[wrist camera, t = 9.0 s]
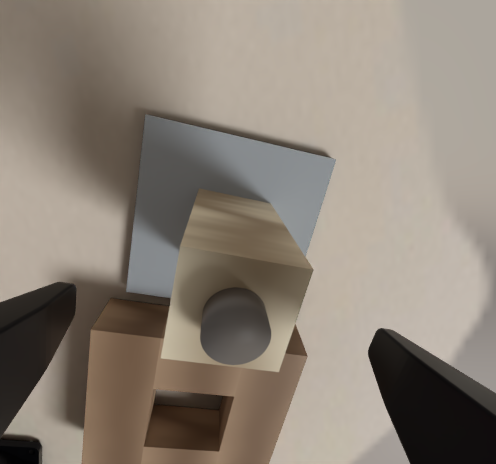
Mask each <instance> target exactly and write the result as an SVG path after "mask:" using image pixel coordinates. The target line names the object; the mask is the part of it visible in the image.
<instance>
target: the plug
mask: <svg viewBox="0 0 496 464" xmlns="http://www.w3.org/2000/svg"><path fill="white" fill-rule="evenodd" d="M312 272H313V268H312V267H311V265H310V263H309V262H308V260H307V259H306V257H305V256H304V254H303V253H302V251H301V250H300V248H299V246H298V245H297V243H296V242H295V240H294V239H293V237H292V236H291V234H290V232H289V231H288V229H287V228H286V226H285V225H284V223H283V222H282V220H281V218H280V217H279V215H278V214H277V212H276V211H275V209H274V208H273V206H272V204H271V203H266V202H261V201H257V200H252V199H247V198H242V197H238V196H233V195H228V194H223V193H219V192H214V191H209V190H205V189H200V188H199V190H198V193H197V196H196V199H195V202H194V205H193V208H192V211H191V214H190V218H189V221H188V224H187V227H186V230H185V233H184V236H183V239H182V242H181V245H180V250H179V255H178V261H177V267H176V273H175V278H174V284H173V290H172V296H171V301H170V307H169V313H168V319H167V325H166V330H165V336H164V342H163V348H162V353H161V358H162V359H171V360H179V361H188V362H196V363H205V364H213V365H222V366H230V367H239V368H247V369H256V370H265V371H273V372H279V370H280V367H281V364H282V361H283V358H284V355H285V352H286V349H287V346H288V343H289V340H290V338H291V335H292V332H293V329H294V326H295V323H296V320H297V317H298V314H299V311H300V308H301V305H302V302H303V299H304V296H305V293H306V290H307V287H308V284H309V281H310V278H311V275H312Z"/></svg>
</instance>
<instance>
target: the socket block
mask: <svg viewBox="0 0 496 464" xmlns="http://www.w3.org/2000/svg"><path fill="white" fill-rule="evenodd" d="M169 307H170V306H164V305H156V304H149V303H142V302H135V301H128V300H121V299H113V298H110V300H109V302H108V303H107V305H106V306H105V308H104V310H103V311H102V313H101V314H100V316H99V317H98V319H97V321H96V322H95V324H94V325H93V327H92V329H91V333H90V348H89V363H88V378H87V392H86V407H85V422H84V436H83V451H82V464H269V462H270V459H271V456H272V453H273V451H274V448H275V445H276V442H277V440H278V437H279V434H280V431H281V428H282V426H283V423H284V420H285V417H286V415H287V412H288V409H289V406H290V404H291V401H292V398H293V395H294V392H295V390H296V387H297V384H298V381H299V379H300V376H301V373H302V370H303V367H304V365H305V362H306V359H307V353H306V351H305V348H304V346H303V343H302V340H301V338H300V335H299V332H298V330H297V327H296V324H295V326H294V329H293V332H292V335H291V338H290V340H289V343H288V346H287V349H286V352H285V355H284V358H283V361H282V364H281V367H280V370H279V372H273V371H265V370H256V369H247V368H239V367H230V366H222V365H213V364H205V363H196V362H188V361H179V360H171V359H162V358H161V353H162V348H163V342H164V336H165V330H166V325H167V319H168V313H169ZM156 389H159V390H170V391H180V392H191V393H201V394H212V395H222V396H223V398H222V402H221V405H220V409H219V410H211V409H200V408H188V407H177V406H165V405H154V400H155V394H156Z"/></svg>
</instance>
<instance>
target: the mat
mask: <svg viewBox="0 0 496 464" xmlns="http://www.w3.org/2000/svg"><path fill="white" fill-rule="evenodd" d="M335 162H336V159H333V158H329V157H325V156H320V155H316V154H312V153H308V152H304V151H299V150H295V149H291V148H287V147H282V146H278V145H274V144H270V143H266V142H261V141H257V140H253V139H249V138H245V137H240V136H236V135H232V134H228V133H223V132H219V131H215V130H211V129H207V128H202V127H198V126H194V125H190V124H185V123H181V122H177V121H173V120H169V119H164V118H160V117H156V116H152V115H147V114H145V123H144V132H143V141H142V150H141V160H140V169H139V178H138V187H137V196H136V206H135V215H134V224H133V233H132V243H131V252H130V261H129V270H128V279H127V289H126V292H132V293H139V294H146V295H152V296H159V297H166V298H171V296H172V290H173V284H174V278H175V273H176V267H177V261H178V255H179V250H180V245H181V242H182V239H183V236H184V233H185V230H186V227H187V224H188V221H189V218H190V214H191V211H192V208H193V205H194V202H195V199H196V196H197V193H198V190H199V188H200V189H205V190H209V191H214V192H219V193H223V194H228V195H233V196H238V197H242V198H247V199H252V200H257V201H261V202H266V203H271V204H272V206H273V208H274V209H275V211H276V212H277V214H278V215H279V217H280V218H281V220H282V222H283V223H284V225H285V226H286V228H287V229H288V231H289V232H290V234H291V236H292V237H293V239H294V240H295V242H296V243H297V245H298V246H299V248H300V250H301V251H302V253H303V254H304V256H305V257H306V253H307V250H308V247H309V244H310V241H311V238H312V234H313V231H314V228H315V225H316V222H317V219H318V215H319V212H320V209H321V206H322V203H323V200H324V196H325V193H326V190H327V187H328V184H329V181H330V177H331V174H332V171H333V168H334V165H335Z"/></svg>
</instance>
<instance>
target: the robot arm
mask: <svg viewBox="0 0 496 464" xmlns="http://www.w3.org/2000/svg"><path fill="white" fill-rule="evenodd" d="M75 309H76V286H75V285H74V284H72V283H65V282H57V283H54V284H51V285H48V286H45V287H42V288H40V289H37V290H34V291H31V292H28V293H25V294H23V295H20V296H17V297H14V298H11V299H8V300H6V301H3V302H0V438H1V436H2V435H3V433H4V432H5V431H6V429H7V428H8V426H9V425H10V423H11V422H12V420H13V419H14V417H15V416H16V414H17V413H18V411H19V410H20V408H21V407H22V405H23V404H24V402H25V401H26V399H27V398H28V396H29V395H30V393H31V392H32V390H33V389H34V387H35V386H36V384H37V383H38V381H39V380H40V378H41V377H42V375H43V374H44V372H45V371H46V369H47V367H48V365H49V363H50V362H51V360H52V358H53V356H54V354H55V352H56V350H57V348H58V346H59V345H60V343H61V341H62V339H63V337H64V335H65V333H66V331H67V329H68V327H69V325H70V324H71V322H72V320H73V317H74V315H75ZM368 356H369V359H370V362H371V365H372V368H373V372H374V375H375V378H376V381H377V384H378V387H379V390H380V393H381V396H382V398H383V401H384V404H385V406H386V409H387V411H388V414H389V416H390V418H391V421H392V423H393V425H394V428H395V430H396V432H397V434H398V437H399V439H400V441H401V444H402V446H403V448H404V450H405V453H406V455H407V457H408V460H409V462H410V464H496V393H494V392H493V391H491V390H490V389H488V388H486V387H484V386H483V385H481V384H480V383H478V382H476V381H475V380H473V379H472V378H470V377H468V376H467V375H465V374H464V373H462V372H460V371H459V370H457V369H455V368H454V367H452V366H450V365H449V364H447V363H446V362H444V361H442V360H441V359H439V358H437V357H436V356H434V355H433V354H431V353H429V352H428V351H426V350H424V349H423V348H421V347H419V346H418V345H416V344H415V343H413V342H411V341H410V340H408V339H406V338H405V337H403V336H401V335H400V334H398V333H397V332H395V331H393V330H390V329H384V328H380V329H378V330H377V331H376V333H375V335H374V338H373V340H372V342H371V344H370V347H369V350H368ZM0 464H42V445H41V444H40V443H38V442H29V441H13V440H0Z"/></svg>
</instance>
